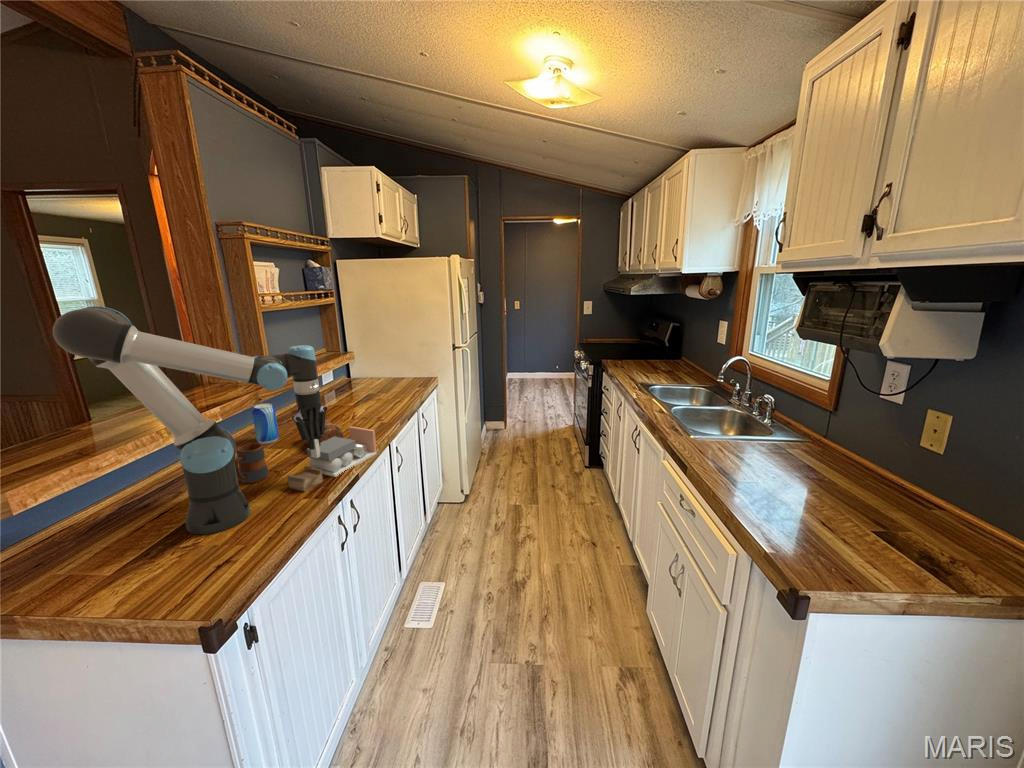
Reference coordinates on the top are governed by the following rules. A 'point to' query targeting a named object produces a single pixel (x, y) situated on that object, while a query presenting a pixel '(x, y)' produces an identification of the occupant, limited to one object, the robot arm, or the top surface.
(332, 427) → the bread
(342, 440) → the slab
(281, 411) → the top surface
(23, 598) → the top surface
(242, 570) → the top surface
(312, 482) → the rack
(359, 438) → the roller bed
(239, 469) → the mug
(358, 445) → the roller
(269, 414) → the beer can
